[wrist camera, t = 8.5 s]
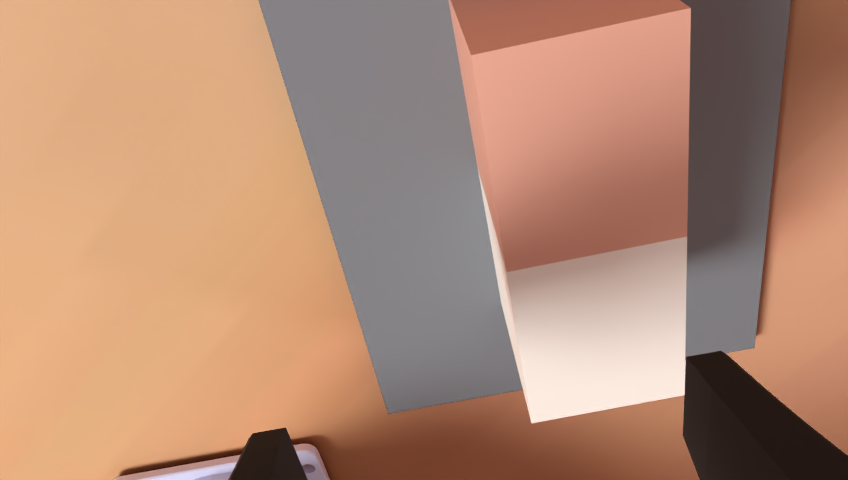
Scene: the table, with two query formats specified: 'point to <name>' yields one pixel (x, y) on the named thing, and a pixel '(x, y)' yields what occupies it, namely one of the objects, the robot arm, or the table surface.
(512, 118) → the two-tone block
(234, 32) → the table surface
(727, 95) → the mat
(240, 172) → the table surface
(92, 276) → the table surface
